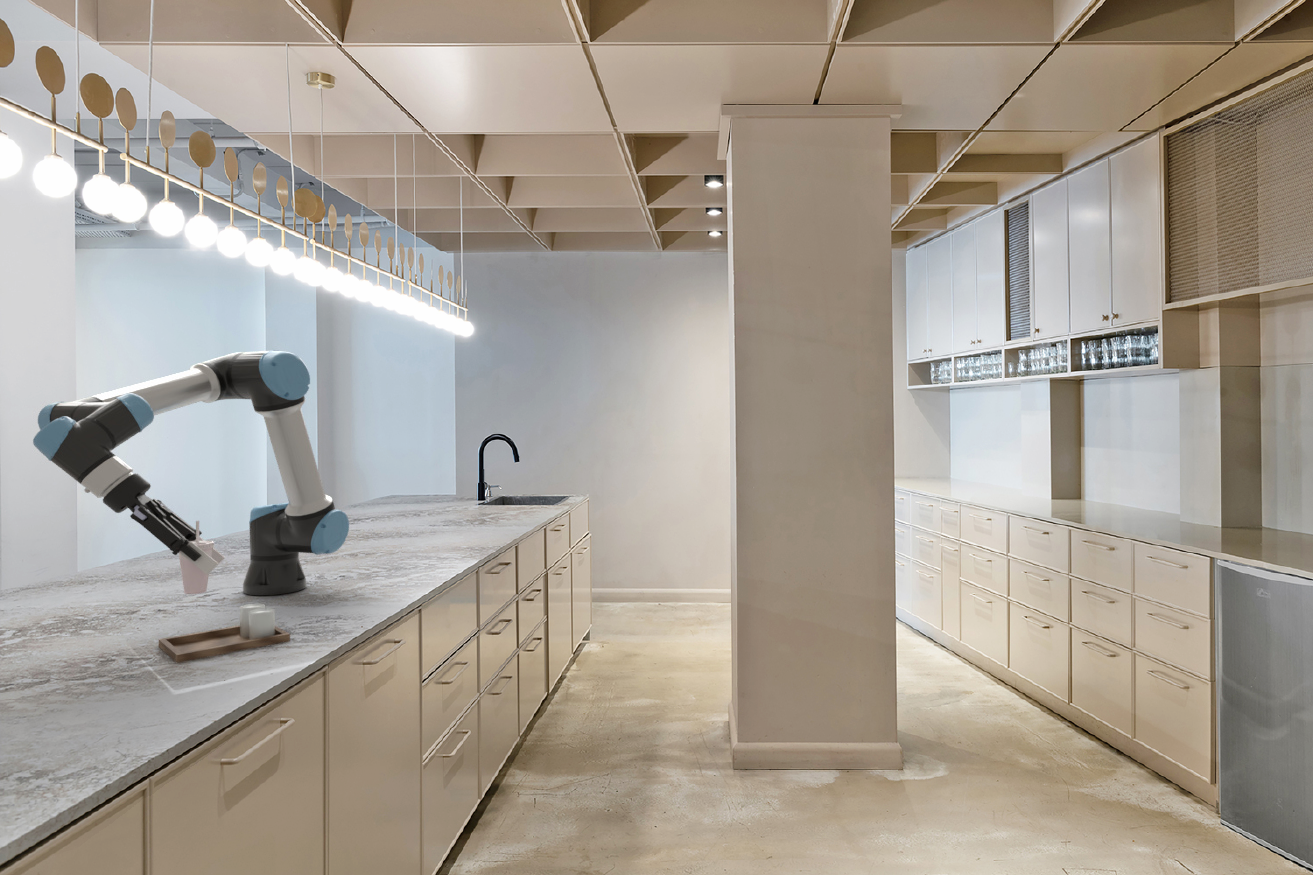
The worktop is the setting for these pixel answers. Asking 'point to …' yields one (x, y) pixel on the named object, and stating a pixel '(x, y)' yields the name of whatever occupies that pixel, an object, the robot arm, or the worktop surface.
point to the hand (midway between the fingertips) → (216, 565)
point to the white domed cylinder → (261, 623)
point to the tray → (215, 643)
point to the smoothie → (195, 568)
